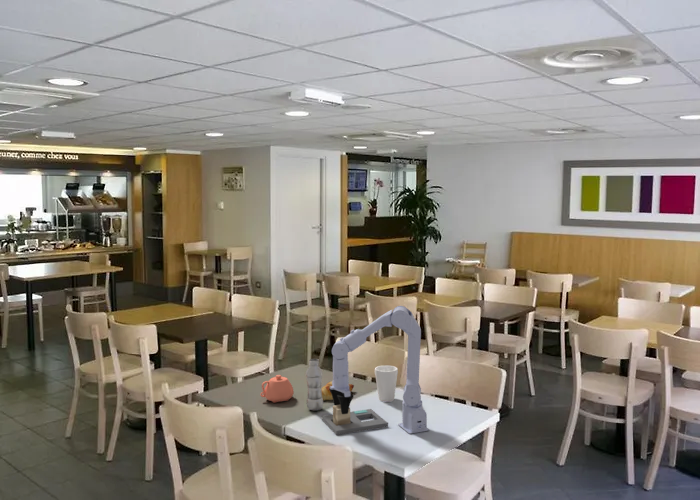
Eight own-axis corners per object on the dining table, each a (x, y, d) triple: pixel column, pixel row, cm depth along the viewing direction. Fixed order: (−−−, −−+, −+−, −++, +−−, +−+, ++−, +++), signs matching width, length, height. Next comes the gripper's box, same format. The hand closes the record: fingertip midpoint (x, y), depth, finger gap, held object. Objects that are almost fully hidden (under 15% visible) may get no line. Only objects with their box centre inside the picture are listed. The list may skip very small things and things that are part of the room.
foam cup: (398, 395, 256) (397, 365, 254) (397, 403, 246) (397, 371, 245) (375, 395, 256) (375, 365, 255) (374, 402, 247) (374, 371, 246)
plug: (350, 426, 222) (350, 408, 221) (337, 428, 220) (337, 410, 219) (345, 422, 226) (345, 403, 226) (333, 424, 225) (332, 405, 224)
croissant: (317, 411, 248) (321, 397, 245) (304, 395, 255) (308, 381, 251) (357, 399, 261) (362, 385, 258) (343, 384, 268) (348, 370, 264)
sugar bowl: (297, 401, 250) (296, 377, 250) (264, 406, 245) (263, 381, 244) (289, 393, 262) (288, 369, 261) (257, 397, 257) (256, 373, 256)
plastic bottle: (321, 412, 237) (320, 362, 235) (304, 411, 238) (303, 361, 236) (325, 407, 243) (324, 358, 241) (309, 406, 244) (307, 357, 243)
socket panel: (387, 426, 221) (387, 422, 221) (336, 435, 214) (336, 430, 214) (370, 412, 236) (370, 408, 236) (322, 419, 229) (321, 415, 229)
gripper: (324, 370, 227) (324, 405, 228) (337, 380, 213) (337, 418, 215) (341, 368, 229) (342, 403, 231) (355, 378, 216) (356, 415, 217)
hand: (341, 410), depth 223 cm, fingers open, 7 cm apart
